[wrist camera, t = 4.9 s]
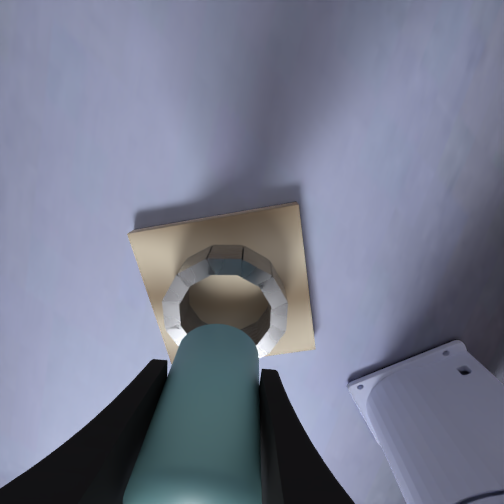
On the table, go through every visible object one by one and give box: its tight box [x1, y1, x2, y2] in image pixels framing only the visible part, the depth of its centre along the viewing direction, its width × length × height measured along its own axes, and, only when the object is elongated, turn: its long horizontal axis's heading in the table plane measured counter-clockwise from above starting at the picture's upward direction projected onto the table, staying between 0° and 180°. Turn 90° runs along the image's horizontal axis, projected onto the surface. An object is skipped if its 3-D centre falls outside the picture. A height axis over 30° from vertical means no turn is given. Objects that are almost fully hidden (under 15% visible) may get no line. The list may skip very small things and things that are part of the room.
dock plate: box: [127, 202, 315, 364], centre depth 19 cm, size 11×11×1 cm
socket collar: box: [162, 245, 288, 358], centre depth 18 cm, size 8×8×2 cm
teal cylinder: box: [123, 324, 262, 504], centre depth 11 cm, size 4×4×6 cm
